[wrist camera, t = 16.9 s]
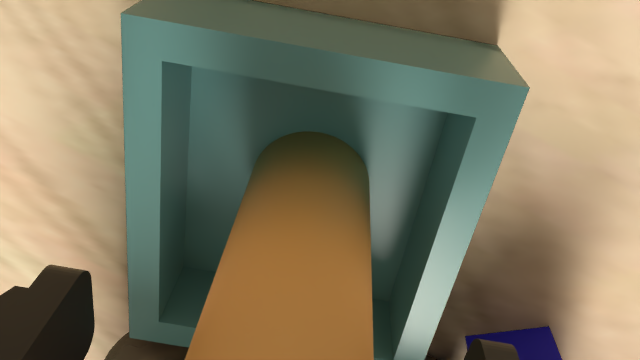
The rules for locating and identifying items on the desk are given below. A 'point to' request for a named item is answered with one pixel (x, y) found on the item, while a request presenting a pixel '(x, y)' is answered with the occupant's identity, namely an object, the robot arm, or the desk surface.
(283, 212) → the stop pin
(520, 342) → the cable clip
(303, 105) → the tray
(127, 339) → the trolley
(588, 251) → the desk surface
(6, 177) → the desk surface
